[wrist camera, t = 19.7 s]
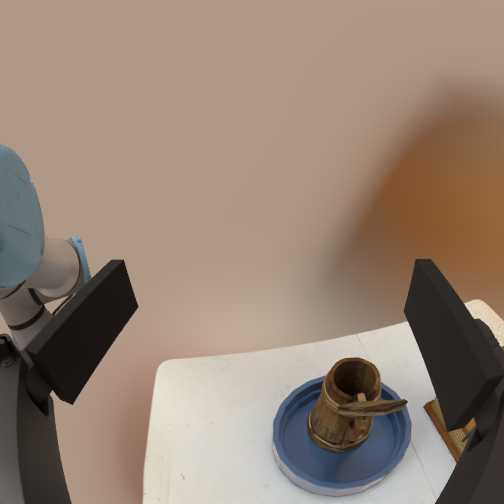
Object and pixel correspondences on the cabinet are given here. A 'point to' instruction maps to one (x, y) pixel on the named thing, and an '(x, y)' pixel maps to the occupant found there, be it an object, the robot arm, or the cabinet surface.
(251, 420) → the cabinet surface
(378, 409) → the wooden mug
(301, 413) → the bowl
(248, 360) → the cabinet surface
